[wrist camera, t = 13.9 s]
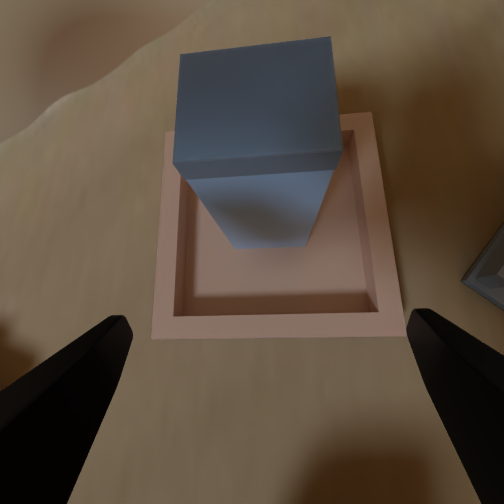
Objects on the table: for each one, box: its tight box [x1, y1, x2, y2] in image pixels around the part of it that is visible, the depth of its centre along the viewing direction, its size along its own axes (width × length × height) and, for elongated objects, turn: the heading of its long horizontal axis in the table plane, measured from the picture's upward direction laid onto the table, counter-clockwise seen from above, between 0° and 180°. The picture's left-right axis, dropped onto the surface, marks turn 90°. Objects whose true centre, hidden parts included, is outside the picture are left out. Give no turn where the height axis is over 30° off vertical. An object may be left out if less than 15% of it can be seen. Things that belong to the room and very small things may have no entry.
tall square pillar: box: [172, 36, 343, 249], centre depth 16 cm, size 5×6×13 cm
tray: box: [151, 111, 407, 339], centre depth 21 cm, size 18×18×2 cm
